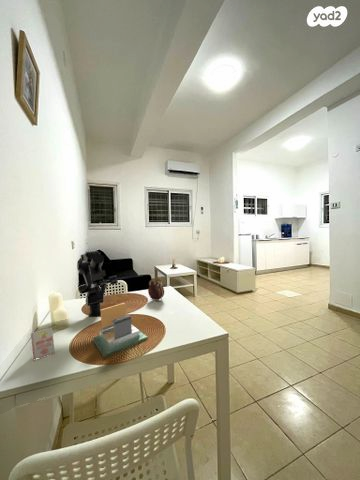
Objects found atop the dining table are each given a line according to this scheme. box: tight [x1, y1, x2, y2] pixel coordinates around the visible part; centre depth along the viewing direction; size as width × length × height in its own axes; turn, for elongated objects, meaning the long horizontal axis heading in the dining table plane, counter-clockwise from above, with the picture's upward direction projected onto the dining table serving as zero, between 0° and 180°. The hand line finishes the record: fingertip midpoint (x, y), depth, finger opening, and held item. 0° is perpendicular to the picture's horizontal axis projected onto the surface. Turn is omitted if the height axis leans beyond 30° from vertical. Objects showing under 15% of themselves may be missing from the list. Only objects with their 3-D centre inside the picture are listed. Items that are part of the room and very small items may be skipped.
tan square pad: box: [100, 302, 127, 330], centre depth 88 cm, size 1×11×9 cm, turn 128°
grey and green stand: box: [92, 314, 148, 359], centre depth 85 cm, size 16×18×11 cm
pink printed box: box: [30, 326, 55, 361], centre depth 77 cm, size 4×7×10 cm, turn 126°
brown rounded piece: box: [147, 277, 165, 302], centre depth 130 cm, size 11×5×15 cm, turn 58°
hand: (102, 300), depth 99 cm, fingers closed
